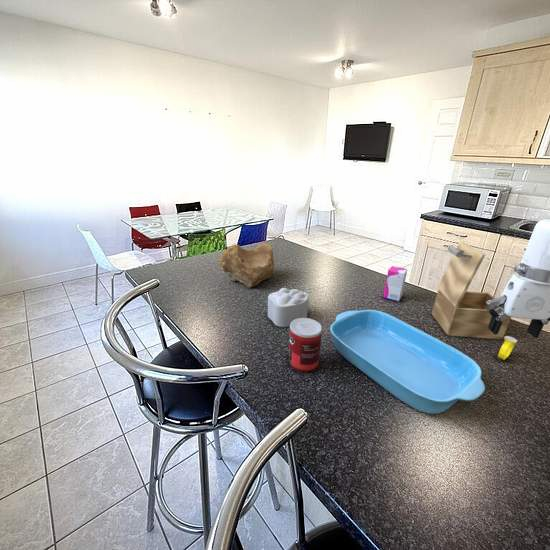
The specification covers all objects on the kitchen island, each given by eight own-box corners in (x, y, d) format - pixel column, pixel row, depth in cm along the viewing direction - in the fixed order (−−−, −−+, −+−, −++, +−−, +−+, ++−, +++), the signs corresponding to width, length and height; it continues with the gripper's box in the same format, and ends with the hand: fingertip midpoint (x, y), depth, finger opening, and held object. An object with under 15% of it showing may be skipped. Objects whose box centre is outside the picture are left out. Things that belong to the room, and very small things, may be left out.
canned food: (296, 348, 80) (298, 314, 76) (323, 359, 77) (327, 323, 72) (282, 364, 74) (284, 328, 70) (311, 376, 71) (314, 339, 66)
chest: (479, 317, 98) (488, 292, 94) (502, 339, 87) (513, 312, 83) (431, 313, 99) (438, 289, 96) (447, 335, 88) (455, 308, 84)
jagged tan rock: (232, 297, 109) (233, 261, 102) (216, 278, 121) (216, 244, 114) (284, 286, 120) (289, 253, 113) (265, 269, 133) (268, 238, 126)
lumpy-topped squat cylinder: (264, 313, 97) (264, 289, 94) (297, 304, 103) (298, 282, 100) (279, 329, 89) (280, 304, 86) (314, 319, 95) (316, 295, 91)
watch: (504, 364, 76) (512, 345, 74) (492, 358, 78) (500, 340, 76) (513, 356, 80) (521, 337, 77) (501, 350, 82) (509, 332, 79)
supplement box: (402, 296, 111) (408, 268, 106) (398, 302, 106) (404, 273, 102) (386, 292, 114) (391, 265, 109) (382, 298, 109) (387, 269, 105)
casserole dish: (493, 394, 67) (503, 370, 64) (444, 446, 55) (454, 418, 52) (363, 321, 94) (367, 301, 91) (312, 344, 82) (314, 323, 79)
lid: (462, 241, 89) (445, 237, 89) (485, 254, 77) (466, 250, 77) (439, 288, 96) (424, 284, 96) (457, 307, 84) (439, 303, 84)
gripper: (509, 276, 66) (485, 338, 73) (591, 282, 65) (558, 345, 72) (490, 264, 73) (469, 322, 80) (564, 269, 72) (537, 328, 79)
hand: (512, 333), depth 76 cm, fingers open, 9 cm apart
